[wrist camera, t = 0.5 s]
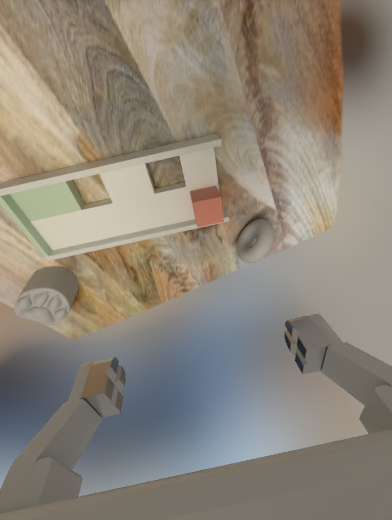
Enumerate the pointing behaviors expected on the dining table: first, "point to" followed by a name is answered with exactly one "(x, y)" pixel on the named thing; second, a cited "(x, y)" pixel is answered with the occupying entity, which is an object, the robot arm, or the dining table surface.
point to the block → (207, 206)
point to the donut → (262, 243)
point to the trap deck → (111, 200)
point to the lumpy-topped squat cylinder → (47, 296)
